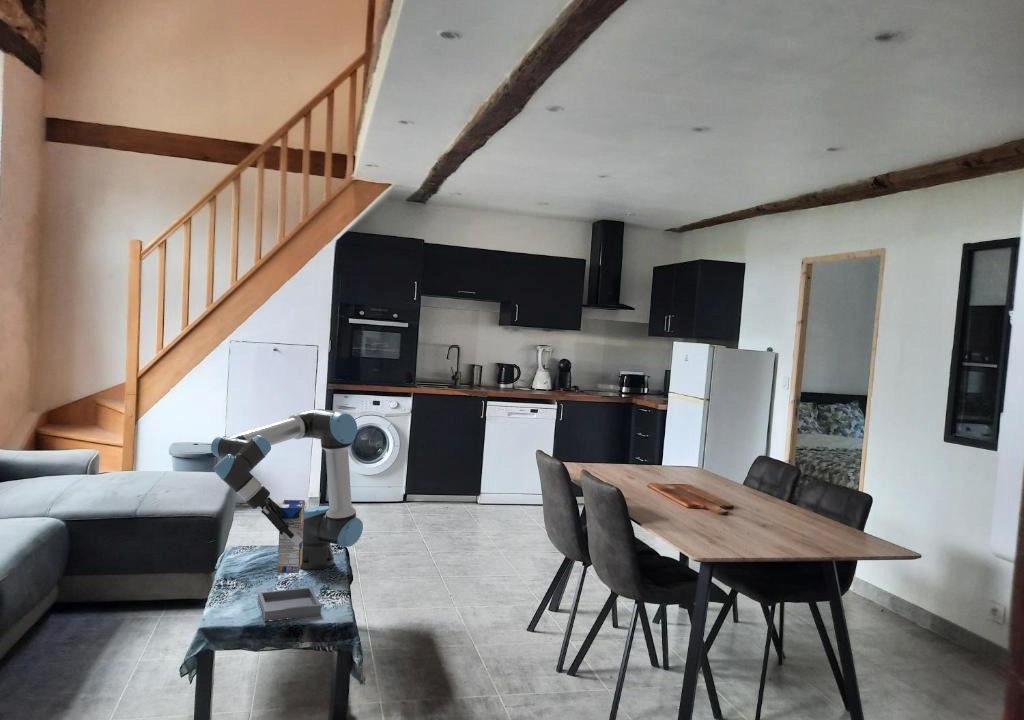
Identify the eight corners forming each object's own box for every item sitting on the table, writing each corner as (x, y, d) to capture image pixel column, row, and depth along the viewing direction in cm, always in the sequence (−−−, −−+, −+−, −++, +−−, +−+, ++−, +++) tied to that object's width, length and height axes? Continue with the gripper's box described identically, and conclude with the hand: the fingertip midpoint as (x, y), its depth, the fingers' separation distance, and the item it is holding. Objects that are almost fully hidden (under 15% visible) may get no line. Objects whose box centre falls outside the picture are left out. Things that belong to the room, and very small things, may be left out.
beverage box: (277, 573, 243) (280, 507, 242) (281, 562, 253) (284, 499, 253) (298, 573, 244) (301, 508, 243) (302, 562, 255) (304, 500, 254)
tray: (310, 596, 261) (311, 587, 261) (320, 615, 245) (321, 605, 245) (258, 602, 254) (258, 592, 253) (264, 622, 237) (265, 611, 237)
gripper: (247, 493, 255) (292, 535, 260) (242, 510, 232) (290, 556, 237) (264, 478, 256) (308, 520, 261) (260, 493, 234) (308, 540, 238)
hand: (300, 537), depth 249 cm, fingers closed on beverage box, 11 cm apart
